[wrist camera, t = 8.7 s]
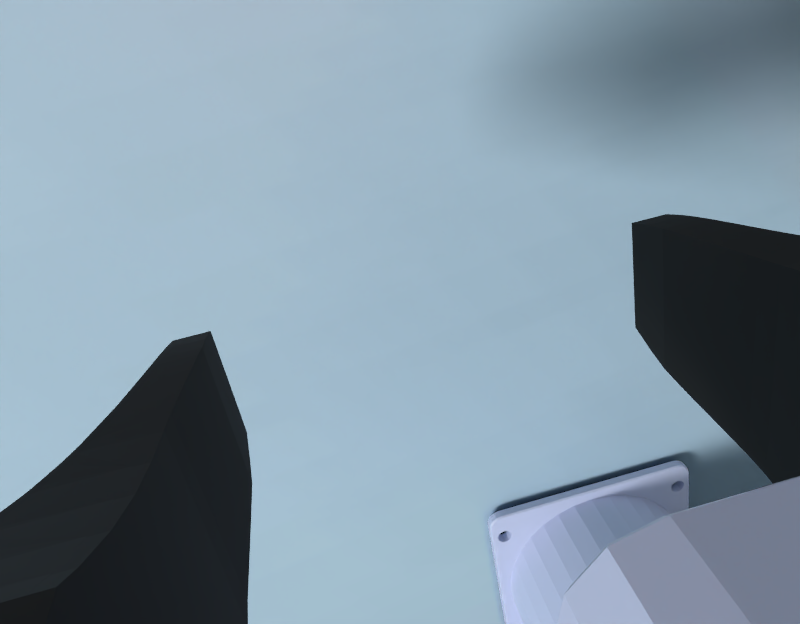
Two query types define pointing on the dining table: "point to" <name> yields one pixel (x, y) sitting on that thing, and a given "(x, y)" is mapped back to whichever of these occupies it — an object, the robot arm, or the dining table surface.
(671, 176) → the dining table surface
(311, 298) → the dining table surface
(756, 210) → the dining table surface
